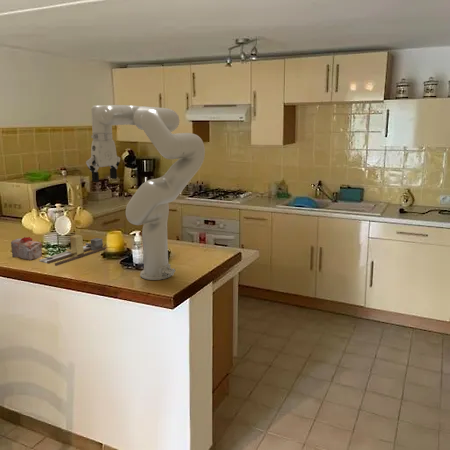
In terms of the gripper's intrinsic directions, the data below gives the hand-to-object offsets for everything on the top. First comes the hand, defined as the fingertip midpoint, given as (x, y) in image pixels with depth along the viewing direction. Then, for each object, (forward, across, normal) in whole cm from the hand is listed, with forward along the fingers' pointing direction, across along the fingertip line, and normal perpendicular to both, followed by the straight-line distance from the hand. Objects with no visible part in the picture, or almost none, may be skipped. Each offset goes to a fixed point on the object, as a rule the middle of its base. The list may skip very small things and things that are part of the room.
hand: (104, 180), depth 187 cm
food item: (+37, -15, +34) cm, 52 cm away
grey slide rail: (+36, -3, +19) cm, 41 cm away
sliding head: (+35, -3, +18) cm, 39 cm away
